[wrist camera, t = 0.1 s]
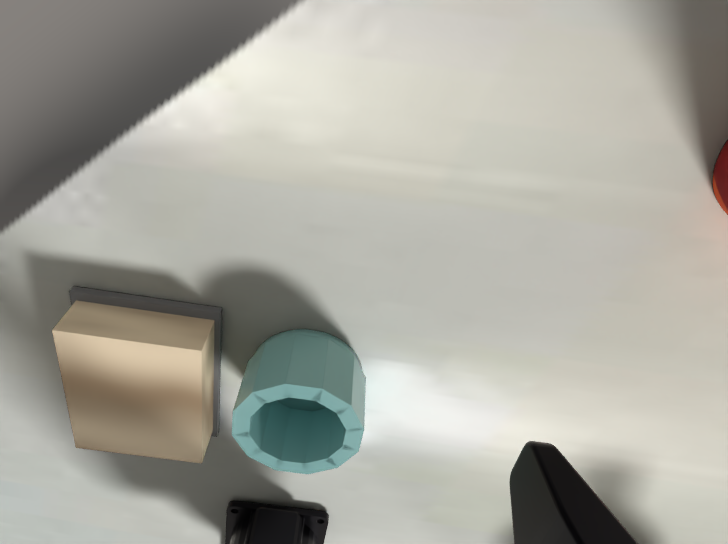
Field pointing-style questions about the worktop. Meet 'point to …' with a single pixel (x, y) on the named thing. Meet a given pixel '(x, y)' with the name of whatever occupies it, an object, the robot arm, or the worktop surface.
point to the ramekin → (301, 403)
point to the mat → (168, 308)
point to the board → (137, 380)
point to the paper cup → (721, 178)
